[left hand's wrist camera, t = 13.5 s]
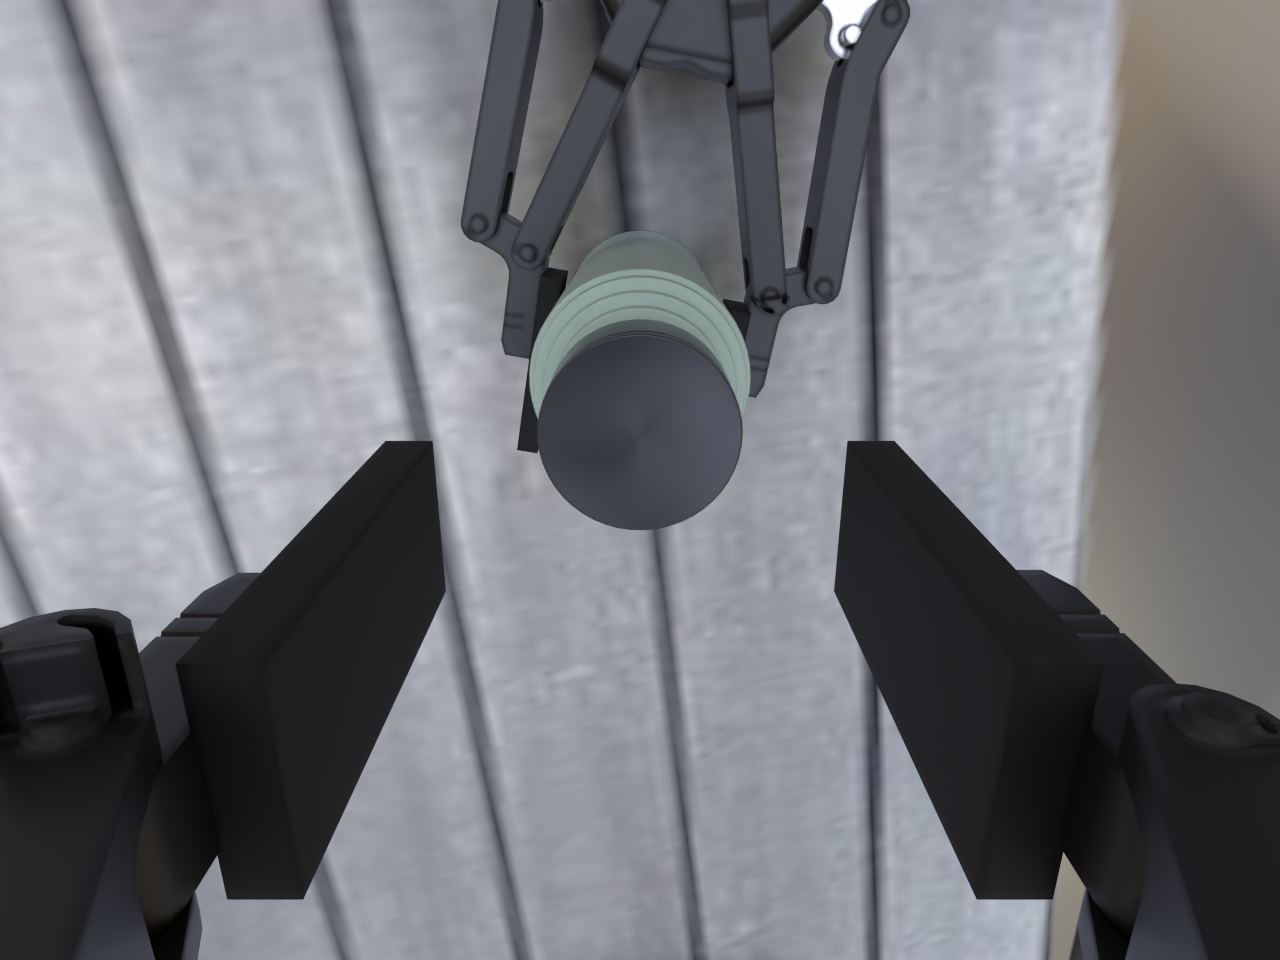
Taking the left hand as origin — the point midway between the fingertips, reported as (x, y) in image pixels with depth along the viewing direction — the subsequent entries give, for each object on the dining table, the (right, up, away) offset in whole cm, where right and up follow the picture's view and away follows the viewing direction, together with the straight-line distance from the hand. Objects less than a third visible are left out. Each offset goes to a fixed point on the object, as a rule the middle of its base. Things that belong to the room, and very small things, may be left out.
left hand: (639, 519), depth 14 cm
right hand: (-1, +2, +19) cm, 19 cm away
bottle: (0, +8, +23) cm, 25 cm away
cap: (0, +2, +5) cm, 5 cm away
